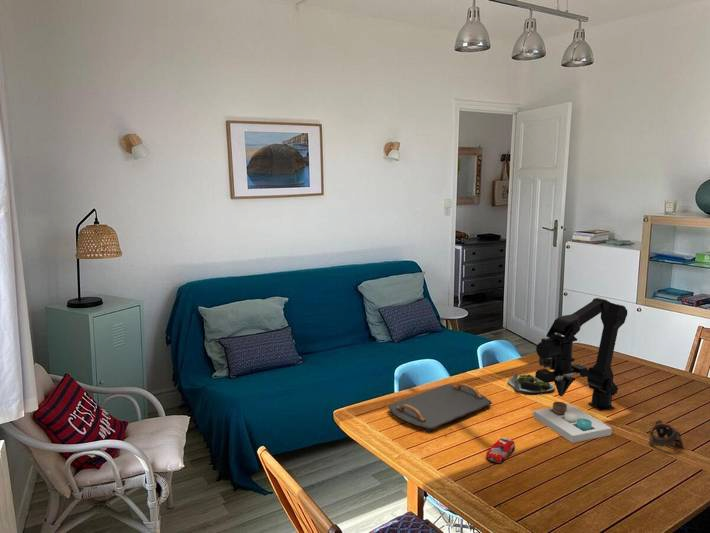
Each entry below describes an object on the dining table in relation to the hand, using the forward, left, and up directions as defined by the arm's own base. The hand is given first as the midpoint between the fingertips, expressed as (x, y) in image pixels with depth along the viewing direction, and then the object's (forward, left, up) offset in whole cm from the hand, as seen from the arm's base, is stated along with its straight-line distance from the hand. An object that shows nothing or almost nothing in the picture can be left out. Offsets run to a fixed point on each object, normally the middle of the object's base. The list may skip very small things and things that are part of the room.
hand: (560, 395), depth 189 cm
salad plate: (-8, -28, -9) cm, 30 cm away
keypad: (0, +6, -9) cm, 10 cm away
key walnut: (0, 0, -6) cm, 6 cm away
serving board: (+37, -21, -9) cm, 43 cm away
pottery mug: (-19, +27, -9) cm, 34 cm away
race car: (+34, +14, -9) cm, 38 cm away
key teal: (0, +12, -7) cm, 14 cm away
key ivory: (0, +6, -7) cm, 10 cm away
